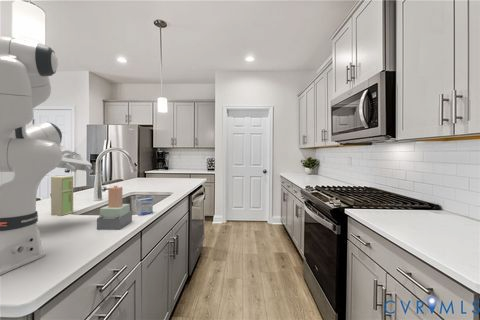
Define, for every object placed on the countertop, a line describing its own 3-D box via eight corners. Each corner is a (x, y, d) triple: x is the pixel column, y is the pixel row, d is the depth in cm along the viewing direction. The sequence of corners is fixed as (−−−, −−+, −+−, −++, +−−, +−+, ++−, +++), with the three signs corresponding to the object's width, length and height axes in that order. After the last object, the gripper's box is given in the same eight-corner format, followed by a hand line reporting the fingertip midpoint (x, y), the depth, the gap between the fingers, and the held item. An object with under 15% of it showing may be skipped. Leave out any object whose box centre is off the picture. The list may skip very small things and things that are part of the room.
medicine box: (140, 215, 135) (140, 200, 135) (135, 214, 138) (135, 199, 138) (152, 213, 142) (153, 198, 141) (148, 212, 144) (148, 197, 144)
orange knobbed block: (118, 207, 115) (118, 186, 115) (108, 207, 115) (108, 186, 115) (122, 205, 120) (122, 185, 119) (112, 205, 119) (113, 185, 119)
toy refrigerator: (61, 216, 132) (61, 177, 131) (50, 215, 133) (50, 176, 133) (74, 212, 139) (74, 175, 139) (63, 211, 141) (63, 175, 140)
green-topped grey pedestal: (119, 229, 111) (119, 209, 110) (96, 229, 110) (96, 209, 110) (131, 221, 125) (132, 203, 124) (111, 220, 124) (112, 203, 124)
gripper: (44, 147, 104) (68, 162, 102) (81, 154, 124) (102, 167, 122) (36, 160, 104) (60, 175, 101) (75, 165, 124) (95, 178, 121)
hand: (83, 171), depth 112 cm, fingers open, 8 cm apart
